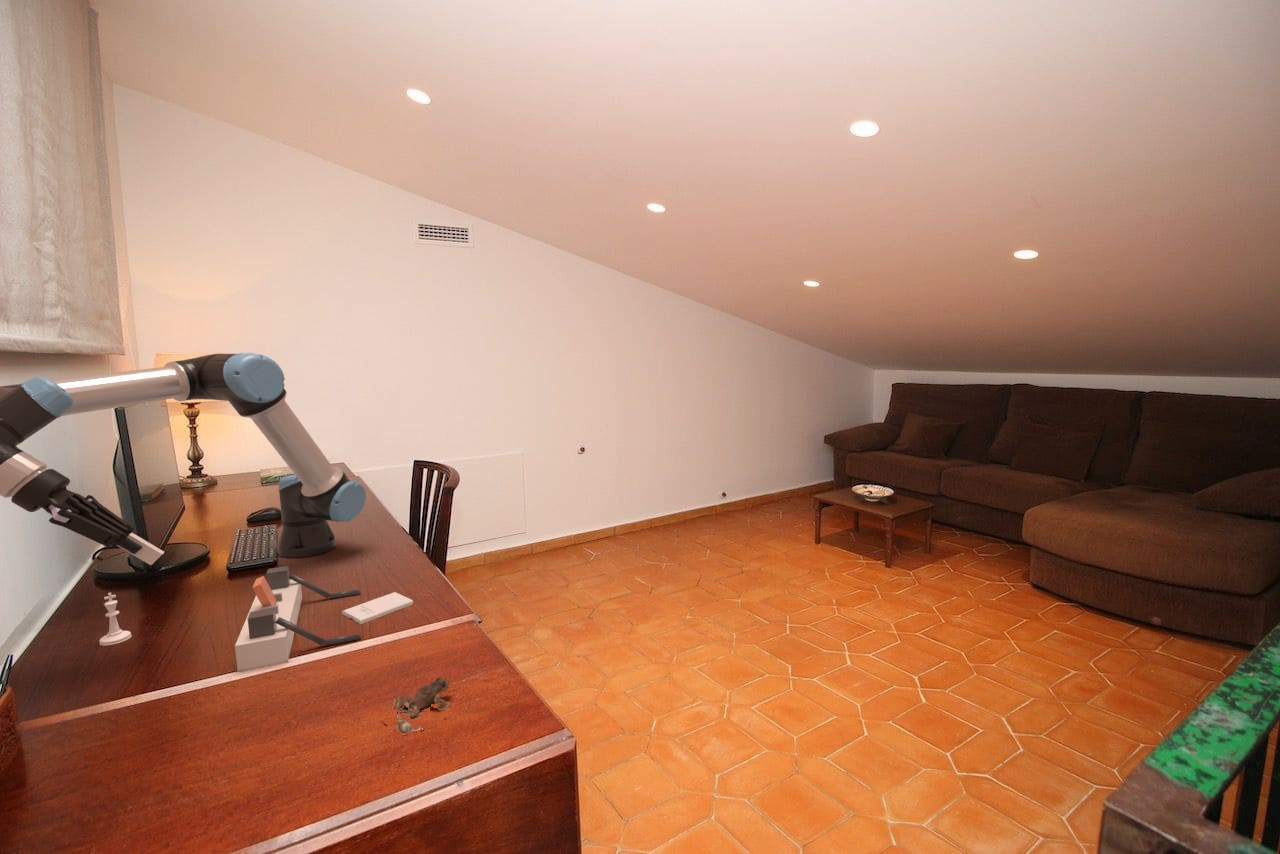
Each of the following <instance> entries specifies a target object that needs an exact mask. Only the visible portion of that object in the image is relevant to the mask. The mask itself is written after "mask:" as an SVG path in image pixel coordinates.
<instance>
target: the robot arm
mask: <svg viewBox="0 0 1280 854" xmlns="http://www.w3.org/2000/svg"><path fill="white" fill-rule="evenodd" d="M285 380H286V379H285V374H284V371H283V370H282V368H281V367H280V365H279V364H278V363H277V362H276V361H275V360H273V359H272V358H271V357H268V356H266V355H264V354H260V353H259V354H258V353H253V352H239V353H212V354H206V355H203V356H198V357H197V356H196V357H193V358H188V359H187V358H186V359H181V360H176V361H175V360H174V361H168V362H166V363H165V365H163V366H161V367H160V366H159V367H153V368H152V367H151V368H145V369H136V370H135V369H134V370H127V371H119V372H112V373H109V372H108V373H102V374H100V373H99V374H93V375H85V376H76V377H67V378H58V379H52V380H50V379H49V378H47V377H43V376H34V377H32V378H30V379H28V380H26V381H24V382H21V383H19V384H18V383H17V384H8V385H1V386H0V496H1V497H3V498H4V499H5V498H11V503H13V504H14V505H16V506H18V507H20V508H22V509H23V510H24V511H27V512H29V513H34V512H37V511H39V510H40V509H43V510H44V511H45V512H46V513H47V514H50V515H51V516H52V517H50V518H49V519H48V522H49V523H51V524H53V525H56V526H59V527H63V528H65V529H67V530H70V531H72V532H74V533H76V534H79V535H80V536H83V537H85V538H87V539H89V540H91V541H94V542H95V543H97V544H100V545H102V546H104V547H107V548H108V549H110V550H115V548H116V547H119V548H120V549H122V550H123V551H125V552H127V553H129V554H130V555H132V556H134V557H136V558H138V559H139V560H140V561H142V562H143V563H146V564H147V565H150V566H152V565H154V563H155V562H156V561H157V560H159V558H160V557H161V556H162V555H163V554H164V553H165V551H164V550H162V549H160V548H158V547H157V546H155V545H154V544H152V543H150V542H149V541H147V540H145V539H144V538H143V537H140V536H138V535H136V534H135V533H133V532H134V531H135V530H136V527H134V526H132V525H130V524H129V523H128V522H127V521H125V520H123V519H122V518H121V517H119V516H118V515H116V514H115V513H114V512H112V510H110V509H108V508H107V507H105V506H104V505H103V504H101V503H100V502H99V501H98V500H97V499H96V498H95V497H94V496H93V495H90V494H88V495H86V496H85V497H84V496H83V495H81V494H79V493H77V492H76V493H75V492H74V491H71V490H68V489H67V487H68V486H69V485H70V483H71V480H70V478H69V477H67V476H65V475H64V474H62V473H61V472H59V471H57V470H55V469H54V468H52V469H51V468H48V469H47V467H48V466H47V465H48V464H46V463H45V462H43V461H41V460H40V459H38V458H37V457H35V456H33V455H31V454H29V453H27V452H26V451H24V450H22V449H21V448H19V447H18V446H19V445H20V444H21V443H23V442H25V441H26V440H28V439H29V438H30V437H32V436H34V435H35V434H36V433H38V432H39V431H40V430H42V429H44V428H45V427H47V426H48V425H49V424H50V423H52V422H54V421H55V420H56V419H60V418H61V417H63V416H70V415H76V414H83V413H90V412H96V411H103V410H109V409H114V408H120V406H122V407H128V406H133V405H140V404H145V403H151V402H152V403H154V402H158V401H166V400H172V399H173V400H175V401H176V402H186V401H194V400H208V401H209V400H213V401H223V402H225V401H227V402H229V404H230V406H232V407H233V408H234V410H235V411H236V412H237V414H238V415H239V416H240V417H242V418H249V419H251V421H253V423H254V424H255V426H256V427H257V428H258V429H259V431H260V432H261V433H262V434H263V435H264V437H265V438H266V439H267V441H268V442H269V443H270V444H271V446H272V447H273V449H275V451H276V453H278V455H279V456H280V458H281V459H282V460H283V461H284V462H285V464H286V465H287V466H288V467H289V469H290V470H291V471H292V472H293V474H290V475H286V476H283V477H281V478H280V479H279V481H278V493H279V503H280V513H281V524H282V527H281V531H280V535H279V538H278V539H279V540H278V543H277V547H276V548H277V555H278V554H279V555H278V556H279V557H283V558H304V557H312V556H316V555H319V554H323V553H326V552H329V551H331V550H333V549H334V548H335V547H336V546H337V544H336V543H337V542H336V536H335V535H334V532H333V529H332V528H331V526H330V524H329V522H328V521H330V522H335V523H342V522H343V523H346V522H351V521H352V520H355V519H356V518H357V517H358V516H359V515H360V514H361V513H362V511H363V509H364V507H365V505H366V500H367V493H366V489H365V487H364V486H363V484H361V483H360V482H358V481H356V480H351V479H350V478H349V477H348V476H347V474H346V473H345V472H344V470H343V469H342V468H341V467H339V466H333V465H332V464H331V463H330V461H329V460H328V458H327V457H326V456H325V454H324V453H323V452H322V450H321V448H320V447H319V446H318V444H317V443H316V442H315V439H313V438H312V436H311V435H310V434H309V432H308V431H307V429H306V428H305V427H304V425H303V424H302V422H301V421H300V420H299V418H298V417H297V415H296V414H295V413H294V411H293V410H292V408H291V407H290V405H289V404H288V403H287V402H286V397H287V390H286V389H285V383H284V382H285ZM124 405H126V406H124Z"/></svg>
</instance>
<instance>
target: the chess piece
mask: <svg viewBox="0 0 1280 854" xmlns="http://www.w3.org/2000/svg"><path fill="white" fill-rule="evenodd" d="M107 595H108V596H104V597H103V598H104V600H105V601H106V600H108V601H106V602H104V603H103V605H104V607H105V609H106V610H107V611H108V612H106V613H105V616H104V617H107V618H108V617H109V626H108V627H109V628H108V632H107V633H106V635H104V636H102V637H101V638H99V645H100V646H112V645H117V644H121V643H123V642H126V641H128V640H130V639H131V638H132V633H131V631H129V630H123V629H121V627H120V625H119V623H118V618H117V615H119V614H120V611H119V610H116V609H117V606H118V600H116V599H115V598H117V596H116V594H112V592H108V593H107Z"/></svg>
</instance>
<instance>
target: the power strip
mask: <svg viewBox="0 0 1280 854" xmlns="http://www.w3.org/2000/svg"><path fill="white" fill-rule="evenodd" d="M289 568H290V567H289V565H286V566H280V567H279V566H278V567H273V568H272V567H271V568H268V569H267V571H266V581H267V583H268V585H269V586H270V588H271V590H272V592H273V594H274V596H275V598H276V603H275V605H273V606H267V607H262V605H261V603H260V601H259V599H258V597H257V595H256V594H255V596H254V597H255V598H254V600H253V601H252V604H251V607H250V609H249V611H248V613H247V615H246V619H245V622H244V624H243V626H242V628H241V630H240V633H239V635H238V638H237V641H236V642H235V644H234V653H235V660H236V670H237V672H243V671H248V670H252V669H258V668H262V667H266V666H271V665H277V664H282V663H287V662H289V660H290V654H291V650H292V645H293V641H294V637H295V636H294V635H295V634H297V635H299V636H302V637H304V638H306V639H307V640H310V641H311V642H313V643H316V644H318V645H320V646H323V645H324V647H327V646H333V645H338V644H343V643H348V642H353V641H358V640H360V639H361V638H362V634H361V633H353V634H348V635H344V636H343V635H342V636H339V637H332V638H328V639H325V638H323V637H320V636H319V635H317V634H315V633H313V632H311V631H309V630H306V629H305V628H303V627H300V626H299V625H297V623H298V619H299V615H300V610H301V606H302V601H303V594H302V593H303V592H302V586H303V587H305V588H307V589H308V590H310V591H312V592H314V593H317V594H318V595H320V596H322V597H324V598H326V599H328V598H329V599H330V600H333V599H338V598H339V599H340V598H344V597H350V596H357V595H359V594H360V593H361V589H358V588H357V589H351V590H346V591H339V592H334V593H330V592H328V591H326V590H324V589H323V588H320V587H319V586H317V585H315V584H313V583H312V582H310V581H308V580H306V579H304V578H302V577H300V576H298V575H296V574H294V573H293V572H292V573H291V574H290V569H289Z"/></svg>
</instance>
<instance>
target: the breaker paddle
mask: <svg viewBox="0 0 1280 854" xmlns="http://www.w3.org/2000/svg"><path fill="white" fill-rule="evenodd" d="M251 588H252V590H253V591H254V593H255V596H256V595H257V597H258V599H259V601H260V603H261V605H262V607H267V606H273V605H275V603H276V598H275V596H274V594H273V592H272V590H271V588H270V586H269V585H268V583H267V578H266V577H265V576H264V575H263V576H260V577H258V578H256V579H255V581H254V583H253V586H252V587H251Z"/></svg>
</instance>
